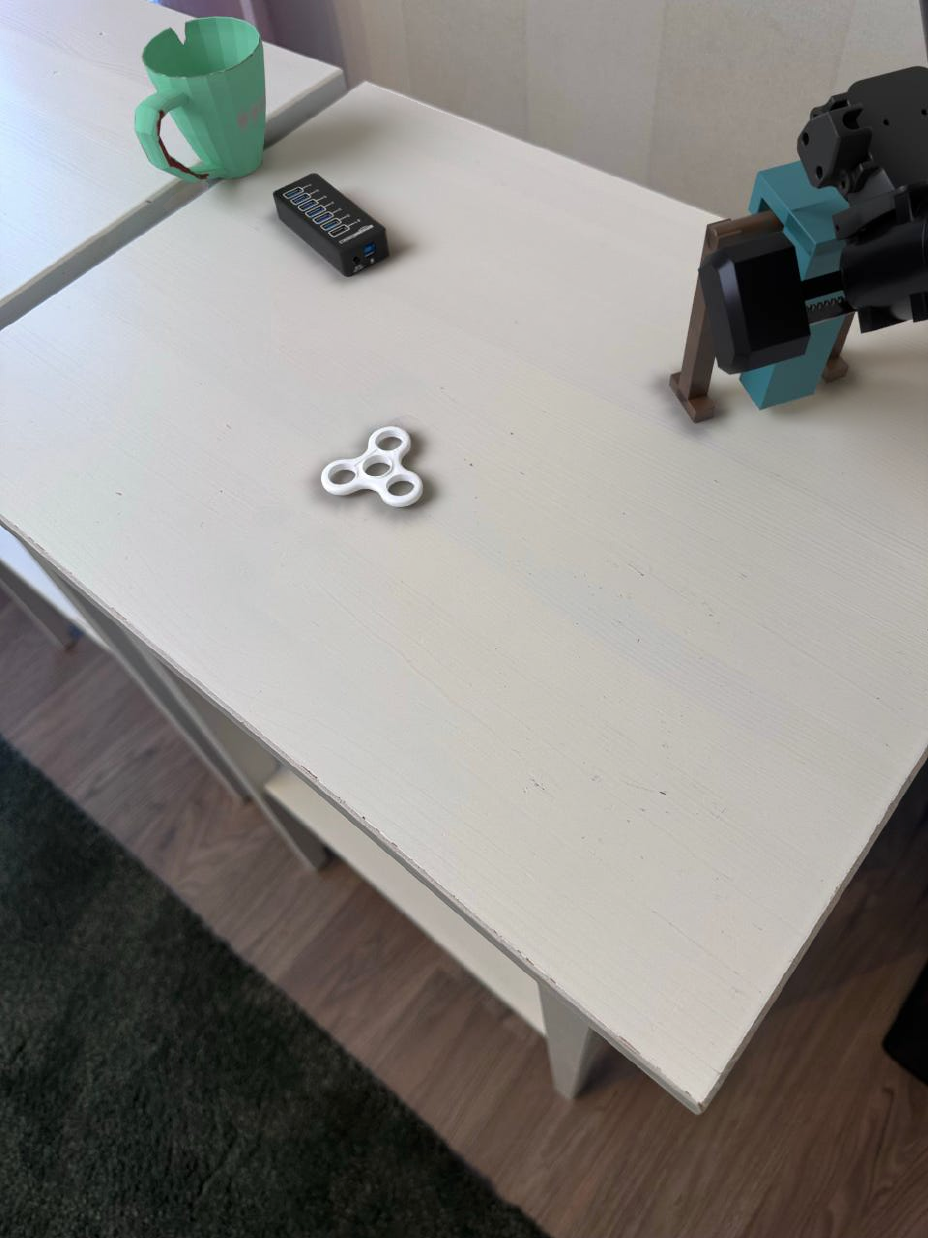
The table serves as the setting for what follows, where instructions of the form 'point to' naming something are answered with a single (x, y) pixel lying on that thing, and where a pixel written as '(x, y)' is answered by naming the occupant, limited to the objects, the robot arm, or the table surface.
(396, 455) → the fidget spinner
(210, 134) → the mug
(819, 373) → the teal angular block
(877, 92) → the robot arm
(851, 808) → the table surface
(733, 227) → the rack
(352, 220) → the multiport hub
